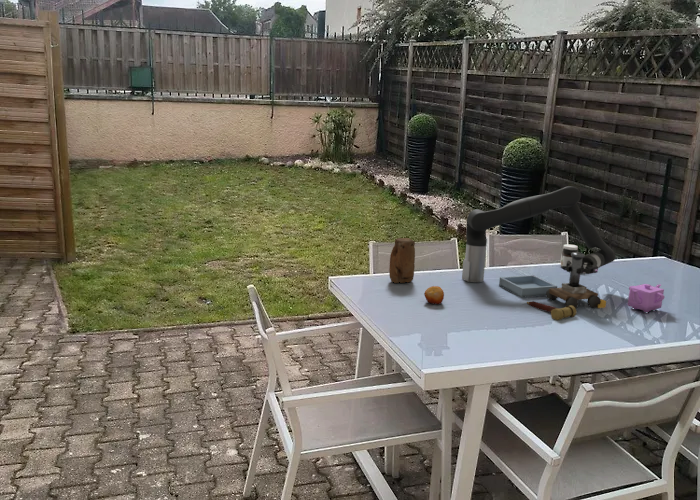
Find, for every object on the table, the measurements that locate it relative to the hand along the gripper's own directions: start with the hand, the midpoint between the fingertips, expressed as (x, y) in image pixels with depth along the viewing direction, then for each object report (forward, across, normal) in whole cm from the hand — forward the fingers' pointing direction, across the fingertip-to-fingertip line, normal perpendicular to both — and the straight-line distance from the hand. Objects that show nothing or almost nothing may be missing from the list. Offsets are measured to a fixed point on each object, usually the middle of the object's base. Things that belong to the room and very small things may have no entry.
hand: (573, 270), depth 262 cm
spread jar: (-60, -23, +15) cm, 66 cm away
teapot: (-18, +25, +15) cm, 34 cm away
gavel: (+15, -3, +16) cm, 22 cm away
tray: (-6, -22, +15) cm, 27 cm away
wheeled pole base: (-3, 0, +15) cm, 15 cm away
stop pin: (-3, 0, +8) cm, 9 cm away
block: (+25, -69, +16) cm, 75 cm away
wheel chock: (-8, +10, +15) cm, 20 cm away
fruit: (+40, -41, +16) cm, 60 cm away
